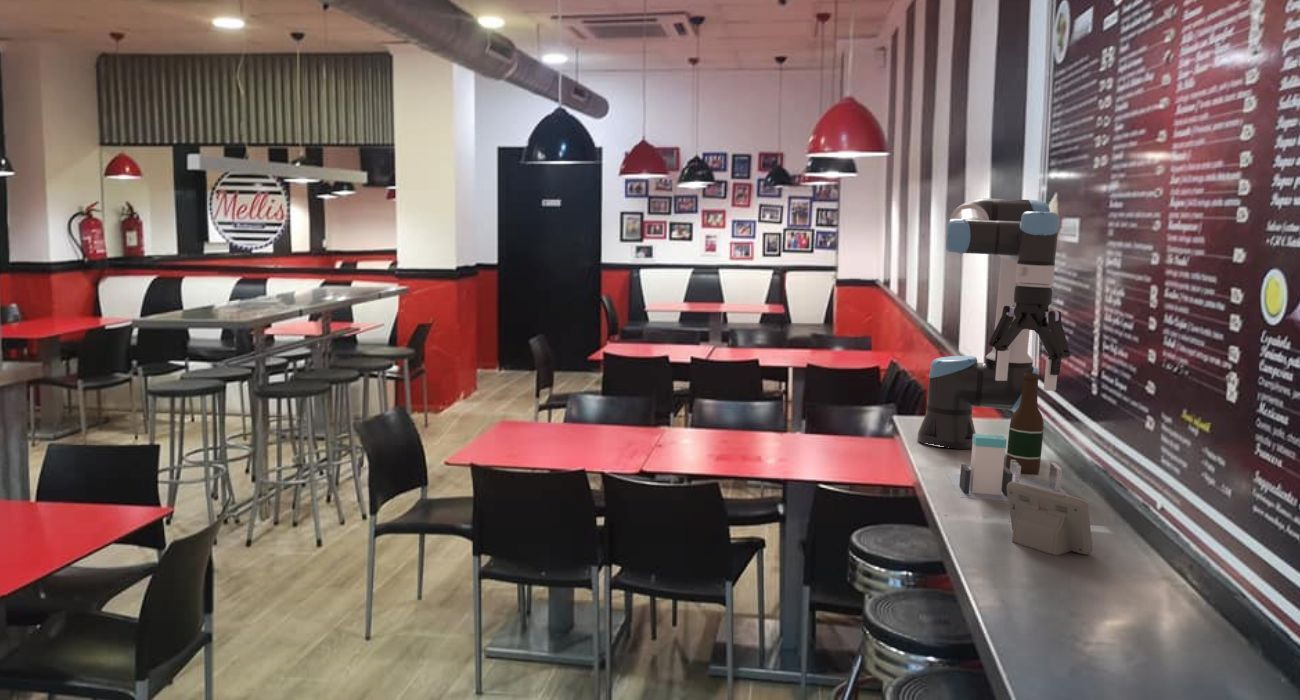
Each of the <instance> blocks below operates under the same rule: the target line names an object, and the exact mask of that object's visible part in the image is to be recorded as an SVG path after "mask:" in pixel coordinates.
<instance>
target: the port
mask: <svg viewBox="0 0 1300 700" xmlns="http://www.w3.org/2000/svg"><path fill="white" fill-rule="evenodd" d="M1049 465H1050V466H1049V473H1048V481H1049V483H1048V485H1049V486H1050V487H1051V488H1052V489H1053V490H1054V491H1056V492H1060V487H1062V485H1061V484H1062V477H1063V476H1062V473H1063V469H1062V467H1060V466H1059V465H1058V464H1057V463H1056V462H1050V464H1049ZM1010 471H1011V472H1012V474H1013V477H1012V482H1019V483H1020V479H1021V474H1020V473H1021V466H1020V465H1019V464H1018V462H1017V461H1016V460H1011V461H1010Z"/></svg>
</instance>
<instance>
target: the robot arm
mask: <svg viewBox="0 0 1300 700" xmlns="http://www.w3.org/2000/svg"><path fill="white" fill-rule="evenodd" d="M1059 221H1060V216H1059V215H1058V213H1057V212H1052V211H1051V210H1050V206H1049V204H1048V203H1047V202H1045V201H1043V200H1035V199H1030V198H1029V199H1019V198H1018V199H1015V198H1014V199H1012V198H991V197H990V198H989V197H988V198H980V199H979V198H978V199H973V200H970V201H967V202H964V203H962V204H960V205H959V206H957V207H955V209H954V210H953V211H952V213H950V215H949V220H948V222H947V227H946V228H947V229H946V241H945V242H946V243H945V249H946V251H947V252H949V253H956V254H961V255H962V254H974V255H975V254H977V255H994V256H995V255H996V256H998V257H999V258H1000V266H999V267H1000V268H999V276H998V277H999V279H998V290H997V301H996V310H995V312H996V313H995V320H994V321H995V323H994V331H993V333H992V335H991V337H990V340H989V342H988V345H989V346H990V347H992V350H991V351H990V352H989V353H987V355H985V362H978V359H977V357H976V356H973V355H952V356H951V355H950V356H942V357H938V358H935V359H933V360H932V361H931V364H930V370H929V375H928V379H929V380H928V391H927V401H926V412H925V416H924V417H923V419H922V422H921V425H920V427H919V429H918V431H917V439H916V440H917V442H919V443H920V442H921V443H920V444H923V443H928V444H934V445H940V446H944V447H949V448H956V449H955V450H968V449H972V444H973V442H972V438H973V434H977V432H976V429H975V425H974V421H973V409H974V408H973V407H976V408H990V409H998V410H999V409H1001V410H1008V411H1016V410H1017V409H1018V408H1019V405H1020V401H1021V396H1022V389H1023V383H1024V378H1023V376H1024V374H1025V373H1035V374H1038V375H1039V369H1038V367H1037V366H1035V365H1033V364H1034V359H1033V358H1032V357H1031V356H1030V355H1029V353H1028V350H1029V341H1030V332H1031V331H1034V332H1035V333H1036V334H1037V335H1038V336H1039V337H1038V338H1039V339H1040V341H1041V343H1042V345H1043V347H1044V349H1045V351H1046V352H1047V354H1048V356H1049V357H1048V358H1046V362H1045V371H1044V381H1043V382H1044V383H1043V391H1047V392H1048V391H1049V392H1051V391H1056V390H1057V380H1058V376H1060V373H1061V367H1062V366H1061V363H1062V360H1063V359H1065V358H1070V357H1071V351H1070V348H1069V345H1068V342H1067V341H1068V340H1067V338H1066V334H1065V331H1064V327H1063V324H1062V312H1061V311H1060V310H1050V309H1049V307H1050V305H1052V300H1053V290H1054V289H1053V288H1052V287H1051V286H1052V285H1054V281H1055V266H1056V262H1055V261H1056V254H1057V246H1058V238H1059V237H1058V236H1059V231H1060V227H1059V224H1060V223H1059Z"/></svg>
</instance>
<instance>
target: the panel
mask: <svg viewBox="0 0 1300 700" xmlns="http://www.w3.org/2000/svg"><path fill="white" fill-rule="evenodd" d="M945 474H946V476H947V478H948V479H949V481H950V483H951V484H952V486H953V487H954V488H955V491H956V492H957V494H958V496H959V497H960V498H965V499H974V500H975V499H976V500H977V499H979V500H990V501H1001V502H1008V497H1006V496H1005V495H1004V494H1003V492H1002V491H1001V495H994V494H981V493H972V492H971V491H970V489H969V494H966V493H963V491H962V490H961V488H960V486H959V485H960V473H948V472H947V473H945ZM1020 483H1023V484H1027V485H1031V486H1035V487H1039V488H1042V489H1046V490H1050V491H1054V490H1053V489H1052V488H1051V487H1050V486H1049V485H1048V483H1049V480H1042V479H1041V480H1039V479H1028V478H1020ZM1054 492H1056V491H1054ZM1058 493H1062V494H1065V495H1069V493H1067V492H1066V491H1065V490H1064V489H1063V488H1062V486H1060V492H1058Z"/></svg>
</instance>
